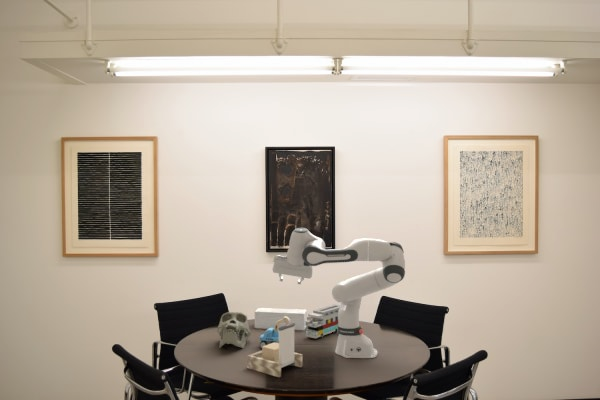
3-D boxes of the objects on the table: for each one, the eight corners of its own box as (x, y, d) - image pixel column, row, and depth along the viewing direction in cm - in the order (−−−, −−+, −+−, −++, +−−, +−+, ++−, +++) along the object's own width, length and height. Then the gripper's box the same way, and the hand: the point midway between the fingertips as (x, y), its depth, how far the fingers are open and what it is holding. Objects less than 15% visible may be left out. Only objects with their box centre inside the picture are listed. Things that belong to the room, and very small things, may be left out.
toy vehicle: (304, 338, 284) (304, 312, 284) (334, 327, 308) (334, 304, 308) (315, 340, 279) (315, 315, 279) (344, 329, 303) (345, 306, 303)
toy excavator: (287, 350, 261) (287, 319, 261) (258, 348, 265) (258, 317, 264) (291, 345, 270) (291, 315, 270) (262, 344, 273) (262, 313, 273)
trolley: (295, 366, 235) (295, 322, 235) (279, 373, 226) (280, 327, 226) (273, 360, 244) (273, 318, 244) (257, 367, 234) (257, 323, 234)
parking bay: (302, 366, 237) (302, 354, 237) (278, 377, 222) (278, 364, 222) (271, 358, 249) (271, 346, 249) (247, 367, 235) (247, 355, 235)
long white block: (306, 326, 312) (306, 309, 312) (304, 330, 301) (304, 313, 301) (258, 324, 317) (258, 307, 317) (254, 328, 306) (254, 311, 306)
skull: (217, 354, 278) (210, 340, 254) (223, 318, 289) (216, 302, 265) (249, 356, 277) (245, 343, 253) (254, 320, 288) (250, 305, 264)
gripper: (274, 257, 238) (269, 281, 243) (314, 264, 240) (309, 288, 244) (274, 252, 244) (270, 275, 249) (314, 258, 246) (309, 282, 250)
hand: (290, 282), depth 247 cm, fingers open, 8 cm apart
